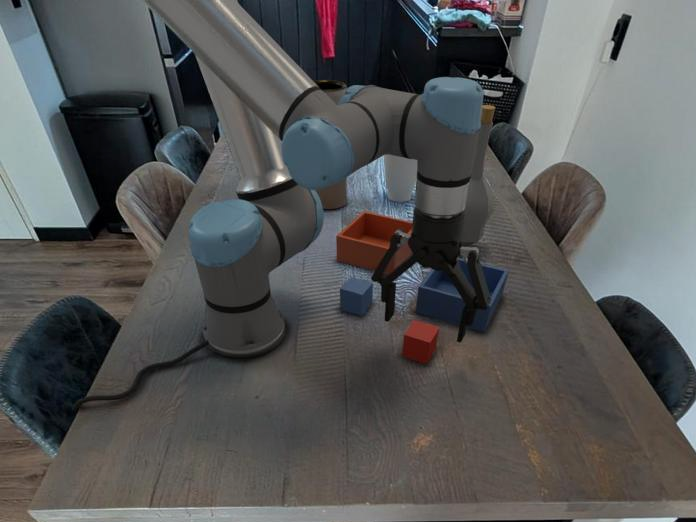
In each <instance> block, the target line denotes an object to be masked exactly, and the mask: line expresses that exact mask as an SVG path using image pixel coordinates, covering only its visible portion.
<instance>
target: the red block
mask: <svg viewBox="0 0 696 522" xmlns="http://www.w3.org/2000/svg"><path fill="white" fill-rule="evenodd" d="M439 335H440V326H436V325H433V324H429V323H426V322H422V321H420V320H416V319H414V320H413V321H412V322H411V323H410V325H409V327H408V328H407V330H406V331H405V332H404V334H403V342H402V348H401V349H402V350H401V357H403V358H407V359H410V360H413V361H416V362H419V363H422V364H425V365H428V363H429V362H430V360H431V358H432V357H433V354H434V353H435V351H436V350H437V346H438V339H439Z"/></svg>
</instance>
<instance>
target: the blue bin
mask: <svg viewBox="0 0 696 522" xmlns="http://www.w3.org/2000/svg"><path fill="white" fill-rule="evenodd" d="M457 260H458V261H459V263H460V268H461V269H462V271H463V273H464V274H465V276H466V278H467V279H468V281H469V283H470V285H471V286H472V288H473V290H474V287H473V284H472V281H471V277H470V274H469V271H468V263H465V261H464V258H461V257H458V258H457ZM450 266H451V265H450ZM481 266H482V270H483V273H484V277H485V280H486V283H487V287H488V290H489V294H490V297H491V301H490V303H489V305H488V307H487V309H486V310H481V309H477V312H476V316H475V320H474V322H473V324H472V325H471V326H469V325H467V329H472V330H475V331H479V332H482V333H485V332H486V329H487V328H488V325H489V324H490V321H491V319H492V317H493V315H494V313H495V311H496V309H497V307H498V305H499V303H500V301H501V300H502V297H503V294H504V290H505V286H506V283H507V280H508V276H509V273H510V270H509V269H504V268H500V267H497V266H494V265H489V264H485V263H481ZM474 291H475V290H474ZM465 305H466V304H465V302H464V301H463V299H462V298H461V296H460V294H459V293H458V291H457V289H456V288H455V286H454V284H453V283H452V281H451V279H450V278H449V277H447V276H446V274H445V273H444V271H443V270H440V271H436V270H433V269H431V268H430V270H429V271H428V273H427V274H426V276H425V277H424V279H423V280H422V281H421V282H420V284H418V287H417V295H416V303H415V312H414V313H416V314H420V315H424V316H427V317H430V318H434V319H437V320H440V321H444V322H447V323H451V324H454V325H458V326H460V322H461V317H462V311H463V309H464V307H465Z"/></svg>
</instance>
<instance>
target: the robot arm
mask: <svg viewBox="0 0 696 522" xmlns="http://www.w3.org/2000/svg"><path fill="white" fill-rule="evenodd" d="M141 1H142V2H143V3H144V4H145V5H146V6H147V7H148V8H149V10H151V12H153V14H155V16H156V17H157V18H158V19H160V20H161V21H162V22H163V23H164V25H165V26H167V27H168V29H170V31H171V32H172V33H173V34H174V35H176V36H177V38H178V39H180V41H181V42H182V43H183V44H184V45H185V46H186V47H187V48H188V49H189V50H190V51H191V52H192V53H193V54H194V56H195V58H196V62H197V64H198V67H199V69H200V72H201V74H202V77H203V80H204V83H205V86H206V89H207V91H208V94H209V97H210V99H211V102H212V105H213V108H214V110H215V114H216V116H217V119H218V121H219V124H220V127H221V130H222V132H223V134H224V137H225V141H226V143H227V146H228V148H229V151H230V154H231V157H232V160H233V163H234V165H235V167H236V170H237V172H238V176H239V179H238V182H237V184H236V187H235V193H236V195H237V198H228V199H227V198H226V199H223V201H219V200H216V201H213V202H211V203H209V204H206V205H204V206H202V207H201V208H200V209H199V210H197V211H196V212H195V213H194V215H192V217H191V219H190V221H189V224H188V236H189V242H190V251H191V255H192V257H193V260H194V263H195V266H196V270H197V274H198V279H199V282H200V285H201V290H202V295H203V297H204V302H205V308H204V315H203V325H202V334H203V338H204V341H203V342H201V343H199V344H198V345H196V346H194V347H193V348H191V349H189V350H188V351H186V352H185V353H183V354H182V355H180V356H179V357H176V358H174V359H172V360H168V361H163V362H162V361H161V362H157V363H153V364H149V365H147V366H145V367H144V368H142V369H141V370H139V371H138V373H137V374H136V376H135V379H134V381H133V383H132V385H131V387H130V388H129V389H127V390H126V391H124V392H122V393H118V394H110V395H88V396H84V397H82V398H80V399H78V400H77V401H76V402H74V404H73V405H72V407H71V411H77V410H78V409H80V407H81V406H83V405H84V404H86V403H89V402H97V401H100V402H101V401H102V402H103V401H104V402H106V401H117V400H122V399H126V398H127V397H129V396H130V395H133V393H135V392H136V390H137V389H138V387H139V385H140V383H141V380H142V378H143V377H144V375H145V374H146V373H148V372H151V371H152V370H156V369H159V368H166V367H170V366H174V365H177V364H179V363H181V362H183V361H184V360H186V359H188V358H189V357H191V356H192V355H193V354H195V353H197V352H199V351H201V350H202V349H204V348H206V347H208V349H209V350H211V351H212V352H213V353H215V354H216V355H219V356H222V357H226V358H230V359H249V358H255V357H259V356H261V355H264V354H267V353H269V352H271V351H273V350H274V349H275V348H276V347H278V346H279V345H280V344H281V343H282V341H283V340H284V338H285V335H286V323H285V318H284V316H283V314H282V312H281V311H280V310H279V308H278V306H277V304H276V300H274V298H273V296H272V292H271V285H270V276H269V275H270V273H271V272H273V271H274V270H275V269H277V268H278V267H280V266H281V265H283V264H284V263H286V262H287V261H289V260H290V259H292V258H293V257H295V256H296V255H298V254H299V253H302V252H304V251H306V250H307V249H308V248H309V247H310V245H311V244H313V243H314V242H315V241H316V240H317V239H318V238H319V236H320V234H321V232H322V231H323V226H324V217H325V215H324V209H323V207H322V204H321V201H320V198H319V196H318V194H317V193H316V191H315V190H321V189H324V188H327V187H329V186H332V185H334V184H337V183H339V182H342V181H343V180H344V179H345V178H346V177H347V178H348V177H349V176H350V175H352V174H353V173H355V172H357V171H358V170H361V169H362V168H364V167H366V166H368V165H369V164H371V163H373V162H375V161H376V160H379V159H380V158H382V157H384V155H386V154H388V155H394V156H399V157H403V158H408V159H415V160H417V179H416V183H415V188H414V201H413V204H414V206H415V207H414V208H413V213H412V221H411V222H412V234H411V235H409V234H406V233H404V230H403V229H402V228H399V229H398V230H397V231H396V232H395V233H394V234H393V235H392V237H391V242H390V247H389V249H388V250H387V252H386V254H385V255H384V257H383V258H382V260H381V262H380V263H379V265H378V267H377V268H376V270H375V271H374V272H373V273H372V275H371V277H370V280H371V282H372V283H378V284H379V285H380V287H381V288H380V301H381V302H382V303H385V305H384V322H387V323H389V322H390V321H391V319H392V318H393V317H394V315H395V309H396V308H395V307H396V295H397V293H396V292H397V282H395V281H396V280H397V279H398V278H400V277H401V276H402V275H403V274H405V272H407V271H408V270H409V269H411V268H412V267H414V265H416V264H417V263H418V265H420V267H421V268H424V269H430V270H431V269H433V270H436V271H440V270H443V271H444V273H445V274H446V276H447V277H449V278H450V279H451V281H452V283H453V284H454V286H455V288H456V289H457V291H458V293H459V294H460V296H461V298H462V299H463V301H464V302H465V304H466V305H465V307H464V309H463V311H462V317H461V322H460V325H459V327H458V333H457V338H456V342H457V343H462V341H463V340H464V338H465V336H466V334H467V329H468V327H467V325H469V326H471V325H472V324H473V322H474V320H475V316H476V312H477V309H481V310H486V309H487V307H488V305H489V303H490V301H491V297H490V294H489V290H488V287H487V283H486V280H485V277H484V273H483V270H482V266H481V264H482V263H481V246H480V245H479V244H473V245H472V247H471V246H469V247H462V245H461V235H462V229H463V223H464V217H465V212H464V210H465V208H466V205H467V199H468V193H469V187H470V181H471V172H472V167H473V162H474V156H475V151H476V145H477V140H478V135H479V131H480V127H481V122H480V121H481V112H482V105H484V104H483V102H484V90H483V87H482V86H481V84H480V83H478V82H477V81H475V80H473V79H470V78H465V77H460V76H459V77H458V76H457V77H450V76H441V77H434V78H432V79H430V80H428V81H427V82H426V83H425V85H424V88H423V92H422V93H421V94H418V93H412V92H406V91H400V90H395V89H389V88H384V87H380V86H377V85H375V84H369V85H360V84H356V85H355V84H353V85H351V86H349V87H347V90H346V91H345V95H344V96H342V97H341V99H340V101H339V104H338V105H336V104H335V103H334V102H333V101H332V100H331V99H330V98H329V97H328V96H327V95H326V94H325V93H324V92H323V91H322V90H321V89H320V88H319V87H318V86H317V85H316V84H315V83H314V82H313V81H314V80H312V78H311V77H310V76H309V75H308V74H307V73H306V71H304V69H302V68H301V67H300V66H299V65H298V64H297V63H296V62H295V61H294V59H293V58H291V56H290V55H289V54H287V52H286V51H285V50H284V49H283V48H282V47H281V46H280V45H279V44H278V43H277V42H276V41H275V40H274V39H273V38H272V36H271V35H269V34H268V32H266V30H265V29H264V28H263V27H262V26H261V25H260V24H259V23H258V22H257V21H256V19H254V18H253V17H252V16H251V14H249V12H247V11H246V10H245V9H244V8H243V7H242V6H241V4H240V3H239V1H238V0H141ZM405 243H408V246H409V247H410V249H411V251H412V254H411V255H410V256H409V257H408V258H407V259H406V260H404V261H403V262H402V263H401V264H400V265H399V266H397V267H396V268H395V269H394V270H393V271H391V272H390V273H389V274H385V273H384V272H385V270H386V268H387V267H388V265H389V264H390V262H391V260H392V259H393V257H394V256H395V254H396V253H397V251H398V249H399V248H400V247H403V246H404V245H405ZM460 256H461V257H462V259H464V261H465V263H468V271H469V274H470V277H471V281H472V284H473V287H474V290H475V291H474V290H473V288H472V286H471V285H470V283H469V281H468V279H467V278H466V276H465V274H464V273H463V271H462V269H461V268H460V263H459V261H458V260H457V258H460ZM450 265H451V266H450Z"/></svg>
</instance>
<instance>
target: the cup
mask: <svg viewBox="0 0 696 522" xmlns="http://www.w3.org/2000/svg"><path fill="white" fill-rule="evenodd" d="M383 163H384V164H383V167H384V182H385V188H386V194H387V199H388V200H390V201H393V202H395V203H404V202H409V201H411V200H412V195H413V192H414V191H415V189H416V179H417V160H415V159H408V158H403V157H399V156H394V155H388V154H386V155H383Z"/></svg>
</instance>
